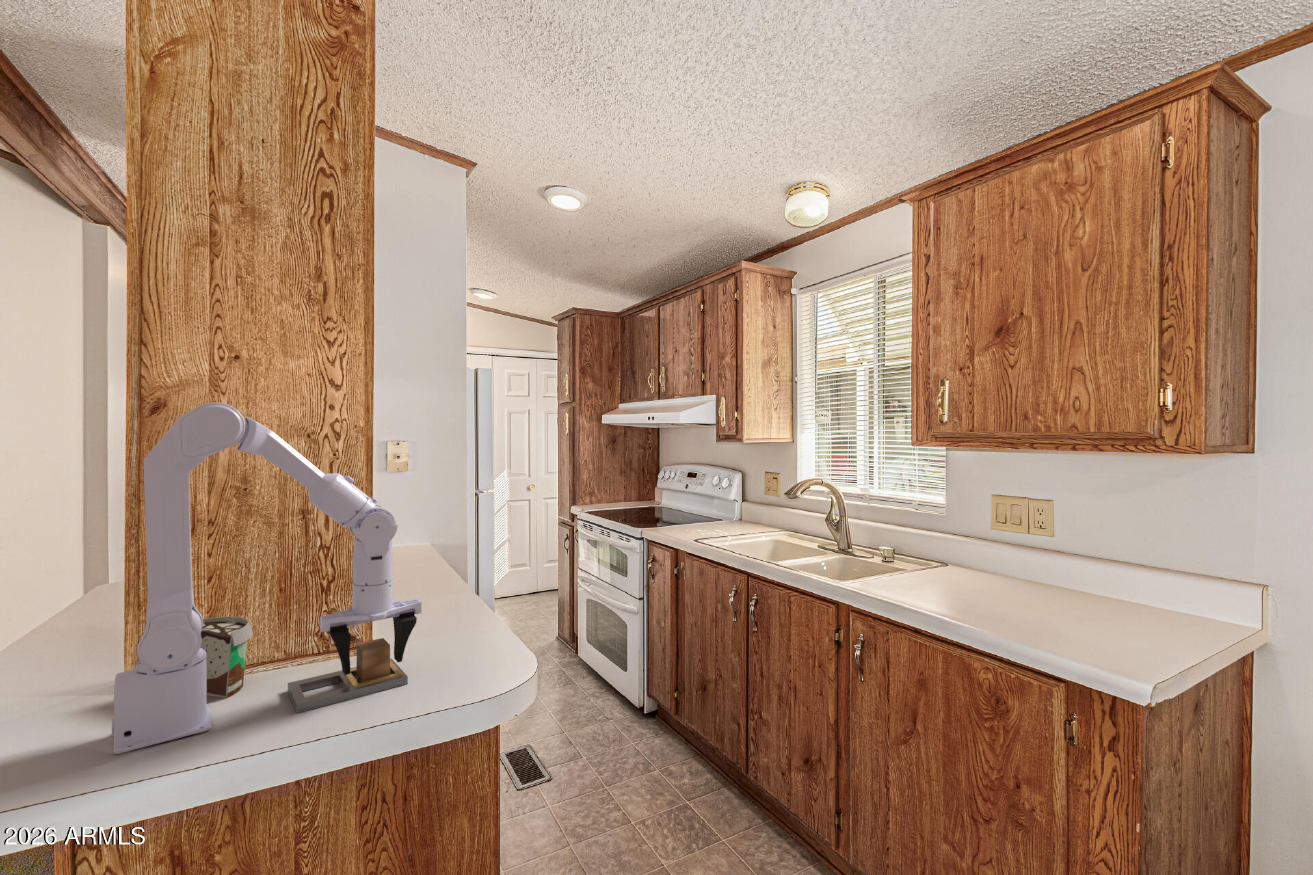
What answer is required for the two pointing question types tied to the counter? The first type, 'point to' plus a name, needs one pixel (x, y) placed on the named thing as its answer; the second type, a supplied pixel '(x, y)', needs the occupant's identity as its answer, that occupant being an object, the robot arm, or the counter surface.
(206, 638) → the food container
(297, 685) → the grey slotted tray
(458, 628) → the counter surface
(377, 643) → the brown wooden block
